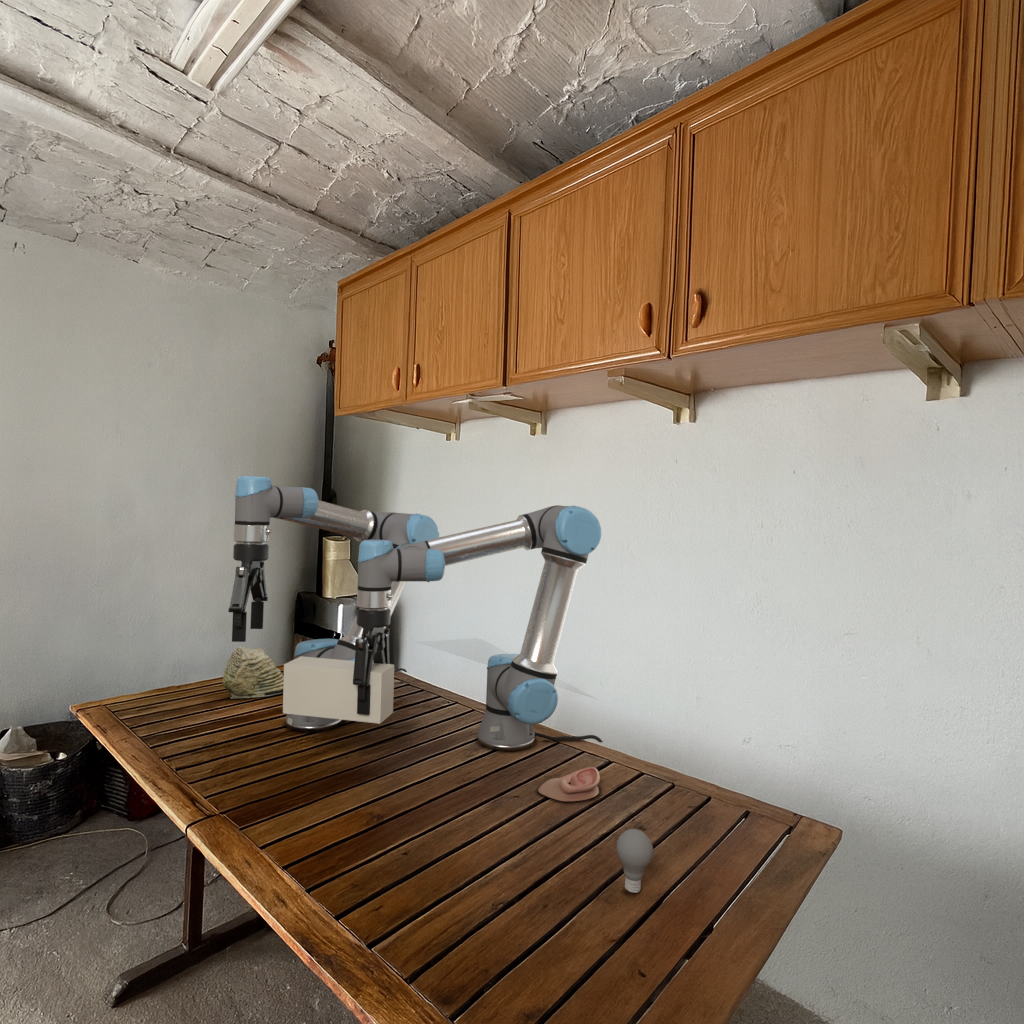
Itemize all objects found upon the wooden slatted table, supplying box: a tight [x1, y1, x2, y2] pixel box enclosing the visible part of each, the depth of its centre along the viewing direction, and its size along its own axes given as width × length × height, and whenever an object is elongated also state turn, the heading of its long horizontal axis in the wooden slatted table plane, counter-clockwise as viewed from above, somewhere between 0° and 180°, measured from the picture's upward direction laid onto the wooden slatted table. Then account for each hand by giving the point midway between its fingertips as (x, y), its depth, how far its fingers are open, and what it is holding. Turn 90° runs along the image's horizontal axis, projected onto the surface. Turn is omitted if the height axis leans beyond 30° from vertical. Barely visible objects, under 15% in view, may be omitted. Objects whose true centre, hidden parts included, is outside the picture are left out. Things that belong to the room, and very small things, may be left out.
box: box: [282, 656, 395, 725], centre depth 146 cm, size 24×8×11 cm, turn 79°
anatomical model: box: [537, 766, 601, 802], centre depth 141 cm, size 13×4×12 cm
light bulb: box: [615, 828, 654, 894], centre depth 106 cm, size 6×6×10 cm
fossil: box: [222, 646, 284, 699], centre depth 198 cm, size 9×18×15 cm, turn 132°
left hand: (248, 634), depth 146 cm, fingers open, 13 cm apart
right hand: (371, 707), depth 144 cm, fingers closed on box, 7 cm apart
